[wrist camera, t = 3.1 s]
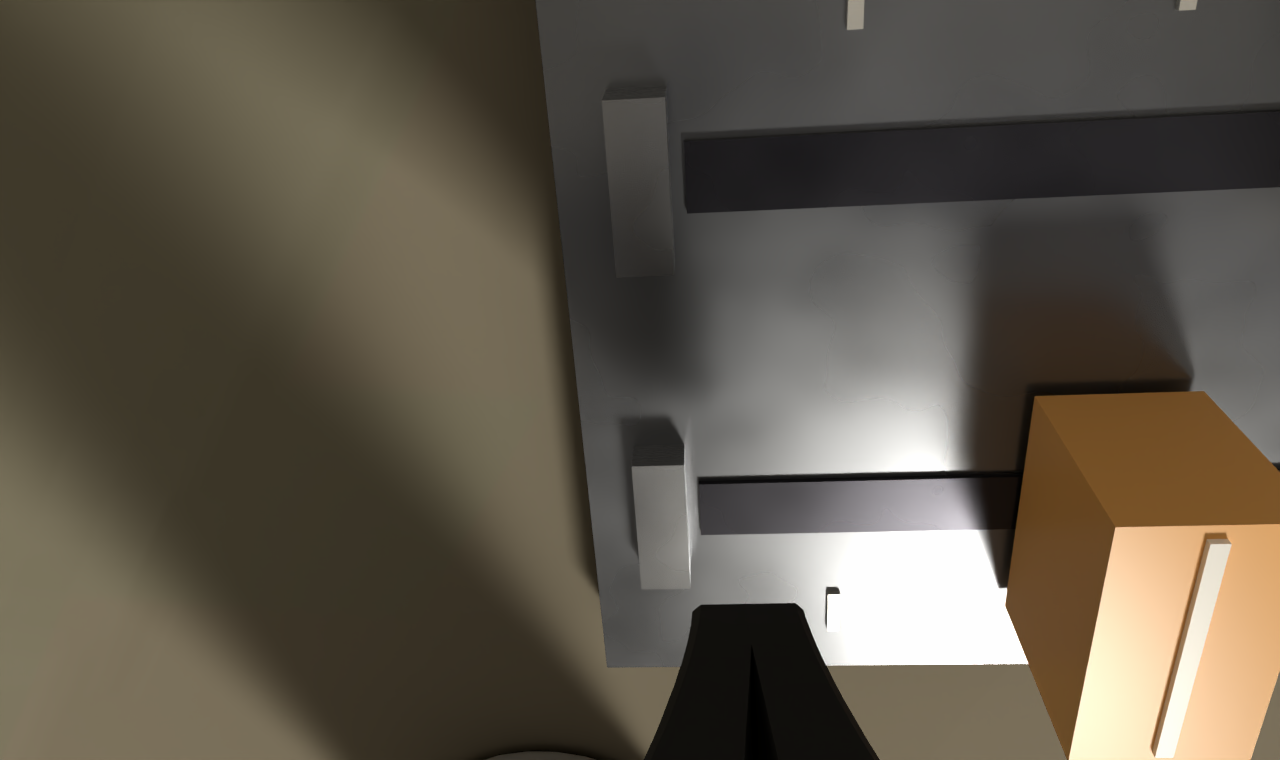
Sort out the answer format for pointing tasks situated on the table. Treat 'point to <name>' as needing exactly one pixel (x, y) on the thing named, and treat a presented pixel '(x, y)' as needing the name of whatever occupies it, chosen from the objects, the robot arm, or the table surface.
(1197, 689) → the orange fader
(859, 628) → the fader console
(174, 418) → the table surface
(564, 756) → the travel mug
